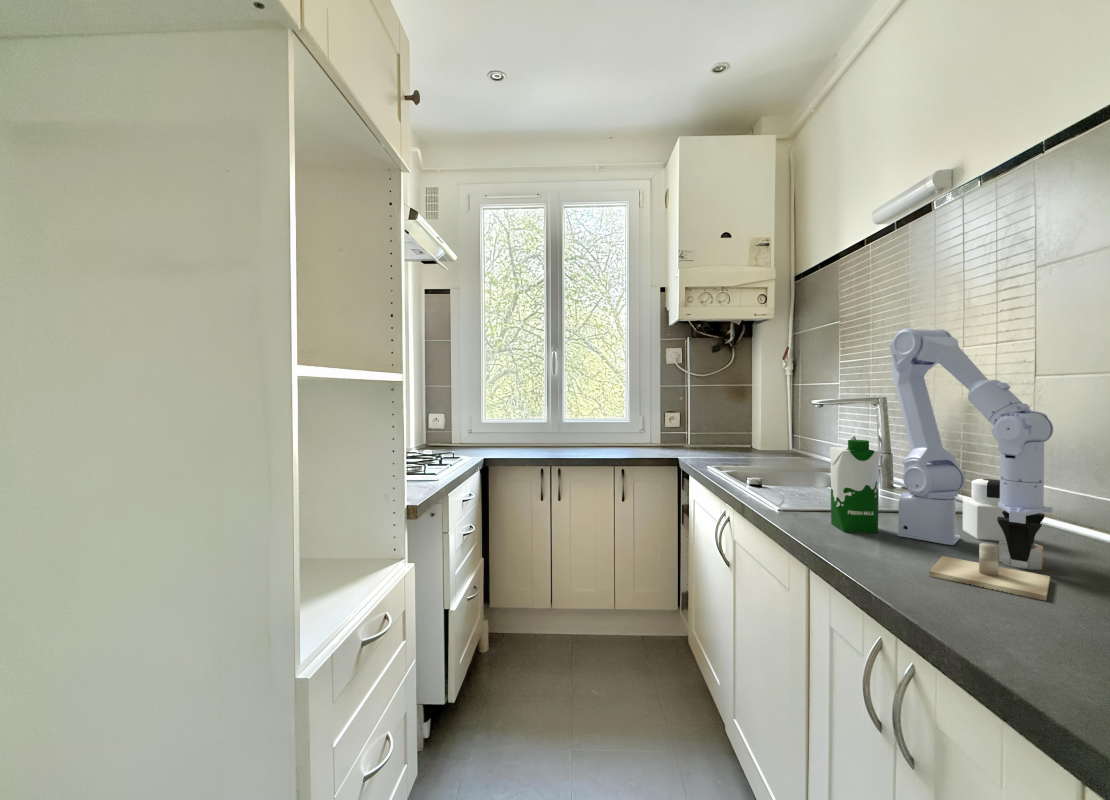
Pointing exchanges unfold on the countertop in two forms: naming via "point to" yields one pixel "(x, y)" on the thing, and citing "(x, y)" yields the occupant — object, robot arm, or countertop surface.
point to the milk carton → (855, 487)
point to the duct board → (989, 582)
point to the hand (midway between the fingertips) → (1020, 556)
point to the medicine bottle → (983, 511)
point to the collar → (1033, 561)
